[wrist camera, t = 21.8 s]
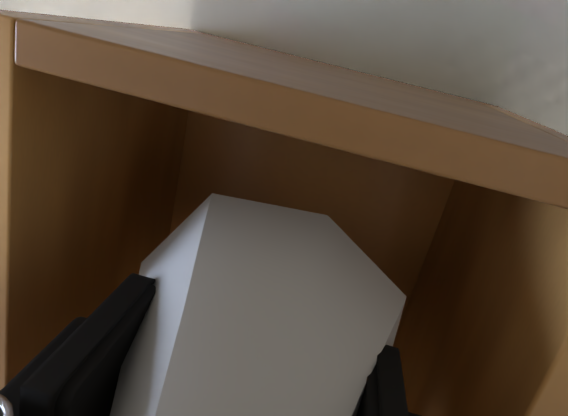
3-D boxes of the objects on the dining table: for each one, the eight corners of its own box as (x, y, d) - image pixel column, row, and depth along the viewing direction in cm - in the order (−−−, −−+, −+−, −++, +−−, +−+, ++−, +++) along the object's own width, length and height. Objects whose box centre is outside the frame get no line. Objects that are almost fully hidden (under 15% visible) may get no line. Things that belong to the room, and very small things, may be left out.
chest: (188, 28, 20) (-31, 5, 9) (499, 106, 20) (706, 192, 8) (145, 324, 26) (-24, 547, 14) (386, 393, 25) (412, 690, 14)
